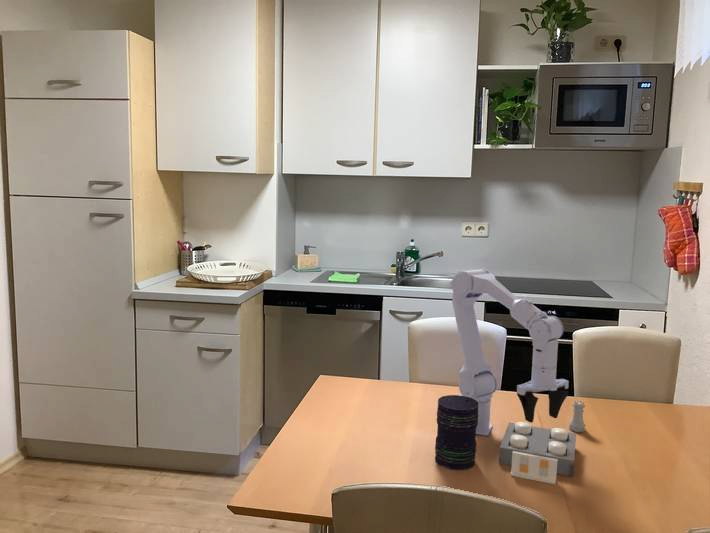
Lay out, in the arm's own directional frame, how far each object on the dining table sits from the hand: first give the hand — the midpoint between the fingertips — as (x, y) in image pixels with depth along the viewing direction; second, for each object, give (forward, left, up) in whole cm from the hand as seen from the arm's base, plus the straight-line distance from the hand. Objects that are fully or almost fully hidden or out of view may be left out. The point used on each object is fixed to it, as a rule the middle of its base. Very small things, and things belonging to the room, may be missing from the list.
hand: (541, 418), depth 152 cm
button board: (0, 0, -10) cm, 10 cm away
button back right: (+4, +4, -7) cm, 10 cm away
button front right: (+4, -5, -7) cm, 10 cm away
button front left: (-5, -5, -7) cm, 10 cm away
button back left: (-5, +4, -7) cm, 10 cm away
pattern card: (0, -13, -10) cm, 16 cm away
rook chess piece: (+8, +22, -10) cm, 25 cm away
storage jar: (-19, -12, -10) cm, 24 cm away
